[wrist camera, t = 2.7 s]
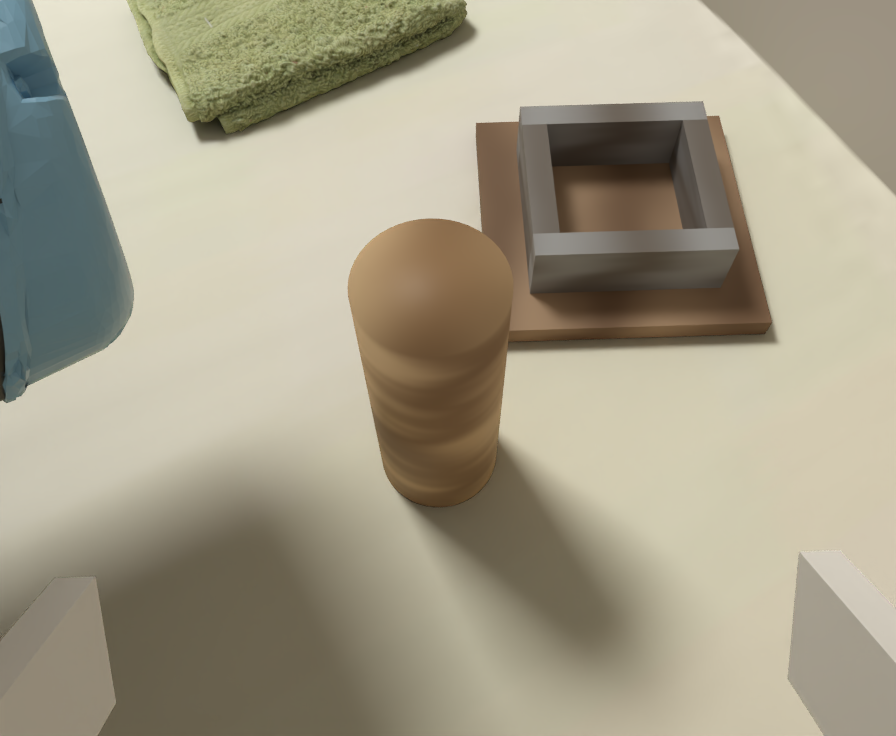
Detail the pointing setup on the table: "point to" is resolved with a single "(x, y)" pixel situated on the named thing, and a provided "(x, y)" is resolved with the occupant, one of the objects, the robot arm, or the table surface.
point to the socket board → (619, 223)
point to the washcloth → (279, 48)
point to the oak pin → (434, 354)
